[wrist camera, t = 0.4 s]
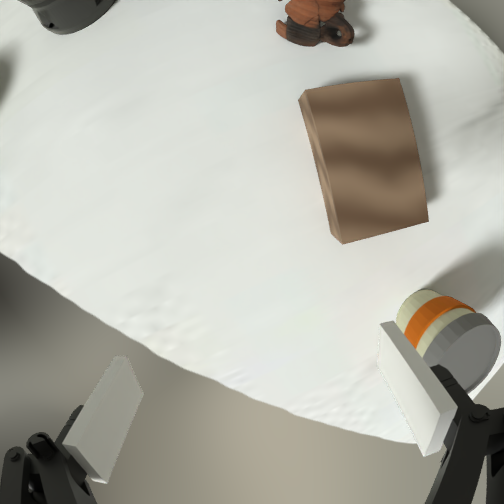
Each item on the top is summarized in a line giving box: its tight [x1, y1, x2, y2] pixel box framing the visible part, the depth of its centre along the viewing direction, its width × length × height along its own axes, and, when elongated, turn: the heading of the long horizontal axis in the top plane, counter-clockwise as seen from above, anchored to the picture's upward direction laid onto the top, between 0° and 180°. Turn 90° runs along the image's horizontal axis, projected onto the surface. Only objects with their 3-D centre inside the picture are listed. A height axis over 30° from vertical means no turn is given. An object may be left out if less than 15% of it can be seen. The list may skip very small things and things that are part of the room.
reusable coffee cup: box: [396, 289, 501, 394], centre depth 36 cm, size 13×13×15 cm
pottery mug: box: [276, 0, 354, 47], centre depth 29 cm, size 12×10×8 cm
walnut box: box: [298, 78, 429, 244], centre depth 34 cm, size 18×12×6 cm, turn 15°
